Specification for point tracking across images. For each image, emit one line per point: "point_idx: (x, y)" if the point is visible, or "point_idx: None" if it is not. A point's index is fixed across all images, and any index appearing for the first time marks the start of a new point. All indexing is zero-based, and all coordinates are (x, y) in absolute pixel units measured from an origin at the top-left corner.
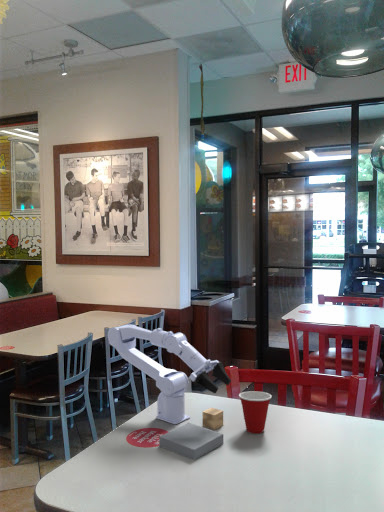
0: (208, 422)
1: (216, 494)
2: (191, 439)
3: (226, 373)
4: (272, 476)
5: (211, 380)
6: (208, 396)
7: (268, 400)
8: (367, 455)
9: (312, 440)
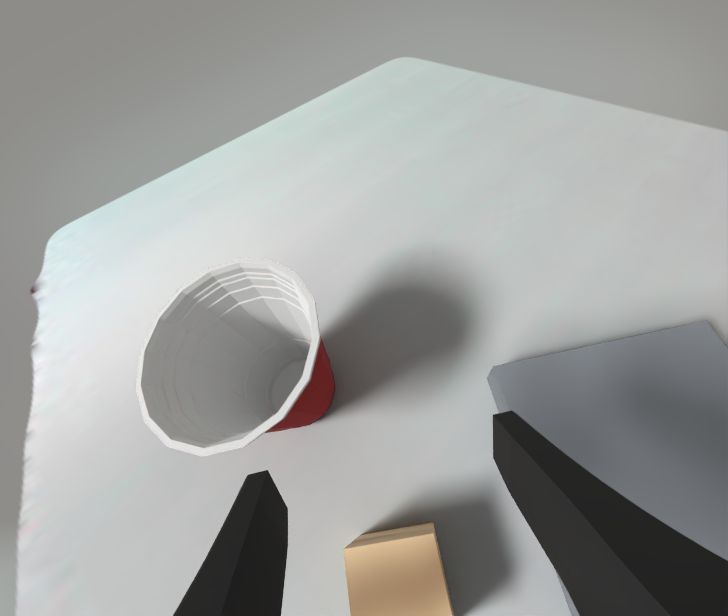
0: (444, 575)
1: (686, 162)
2: (679, 413)
3: (196, 580)
4: (488, 166)
5: (580, 508)
6: None
7: (229, 275)
8: (245, 148)
9: (250, 241)
